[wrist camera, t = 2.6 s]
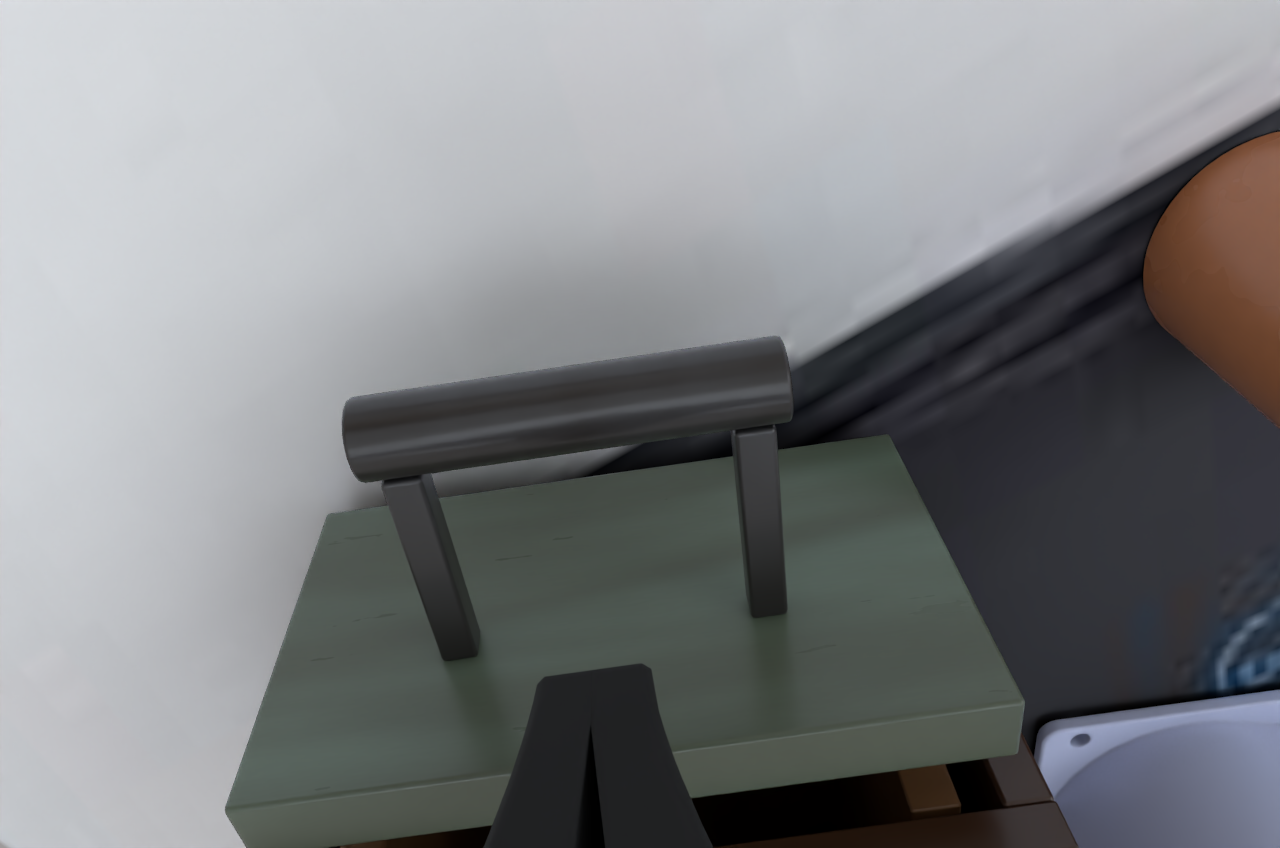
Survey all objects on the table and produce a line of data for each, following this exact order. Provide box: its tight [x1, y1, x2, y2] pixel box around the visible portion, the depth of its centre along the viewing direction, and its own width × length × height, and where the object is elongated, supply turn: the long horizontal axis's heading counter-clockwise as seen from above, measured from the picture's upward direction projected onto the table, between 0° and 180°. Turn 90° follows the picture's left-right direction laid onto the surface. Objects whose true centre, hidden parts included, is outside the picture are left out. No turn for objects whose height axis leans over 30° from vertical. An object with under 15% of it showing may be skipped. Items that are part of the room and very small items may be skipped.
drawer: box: [225, 336, 1025, 848], centre depth 18 cm, size 17×11×7 cm, turn 7°
